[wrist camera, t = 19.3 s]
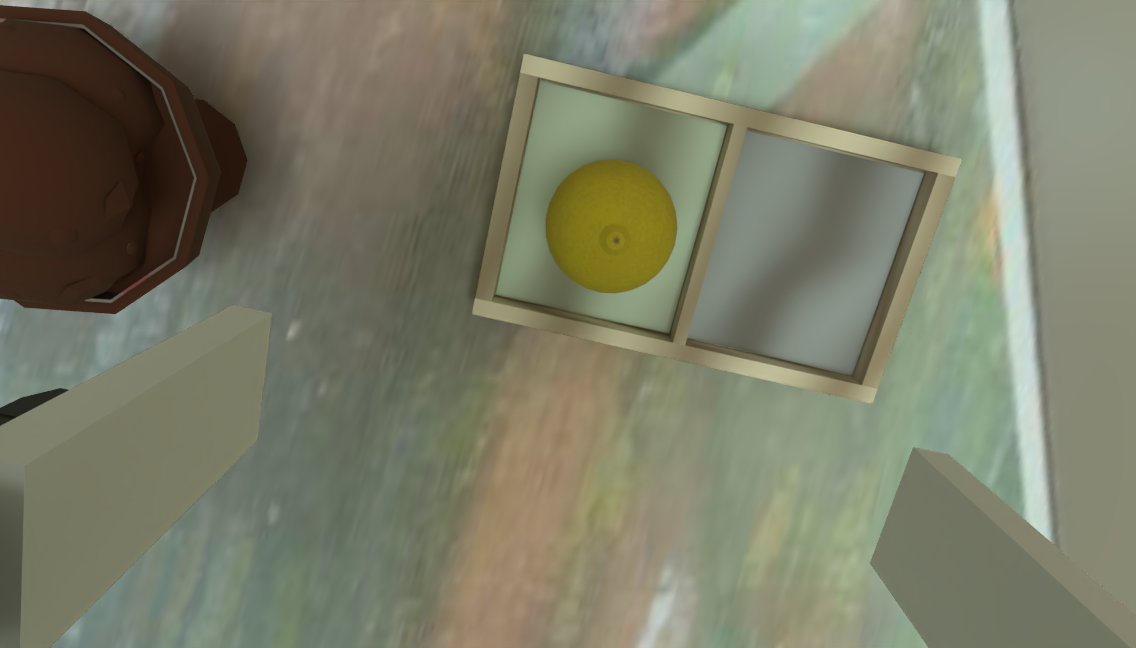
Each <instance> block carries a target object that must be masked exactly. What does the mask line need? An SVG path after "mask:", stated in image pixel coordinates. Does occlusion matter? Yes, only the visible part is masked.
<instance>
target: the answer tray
mask: <svg viewBox="0 0 1136 648" xmlns="http://www.w3.org/2000/svg"><path fill="white" fill-rule="evenodd" d="M611 159H617V160H622V161H627V162H632V163H634V164H636V165H638V166H640V167H642V168H645V169H647V170H648V171H649V172H651V173H652V174H653V175H654V176H655V177H656V178H658V179H659V180H660V181H661V183H662V184H663V186H664V187H665V189H666V190H667V191H668V193H669V194H670V196H671V199H672V202H673V205H674V207H675V210H676V218H677V235H676V241H675V246H674V248H673V251H672V253H671V255H670V258H669V260H668V262H667V263H666V264H665V266H664V267H663V268H662V270H661V271H660V272H659V273H658V274H657V275H656V276H655V277H654V278H652V279H651V280H650V281H649V282H647V283H646V284H644V285H642V286H640V287H638V288H635V289H633V290H631V291H626V292H621V293H615V294H614V293H599V292H596V291H593V290H590V289H587V288H584V287H582V286H581V285H579V284H577V283H576V282H574V281H573V280H571V279H570V278H569V277H568V276H567V275H566V274H565V273H564V272H563V271H562V270H561V269H560V268H559V267H558V265H557V263H556V262H555V260H554V258H553V256H552V255H551V253H550V250H549V246H548V242H547V239H546V214H547V210H548V206H549V202H550V201H551V199H552V197H553V195H554V193H555V191H556V189H557V187H558V186H559V185H560V184H561V183H562V182H563V181H564V180H565V179H566V177H567V176H568V175H569V174H571V173H572V172H574V171H576V170H577V169H579V168H580V167H582V166H584V165H587V164H590V163H593V162H596V161H598V160H611ZM961 160H962V159H958V158H954V157H950V156H946V155H942V154H938V153H934V152H929V151H925V150H921V149H917V148H913V147H909V146H905V145H900V144H896V143H892V142H888V141H884V140H880V139H876V138H871V137H867V136H863V135H859V134H855V133H851V132H847V131H842V130H838V129H834V128H830V127H826V126H822V125H818V124H813V123H809V122H805V121H801V120H797V119H793V118H789V117H784V116H780V115H776V114H772V113H768V112H764V111H760V110H755V109H751V108H747V107H743V106H739V105H735V104H731V103H726V102H722V101H718V100H714V99H710V98H706V97H702V96H697V95H693V94H689V93H685V92H681V91H677V90H673V89H668V88H664V87H660V86H656V85H652V84H648V83H644V82H640V81H635V80H631V79H627V78H623V77H619V76H615V75H611V74H606V73H602V72H598V71H594V70H590V69H586V68H582V67H577V66H573V65H569V64H565V63H561V62H557V61H553V60H548V59H544V58H540V57H536V56H532V55H528V54H524V56H523V61H522V66H521V71H520V76H519V81H518V86H517V91H516V96H515V101H514V106H513V111H512V116H511V121H510V126H509V131H508V136H507V141H506V146H505V151H504V156H503V161H502V166H501V171H500V176H499V181H498V186H497V191H496V196H495V201H494V206H493V211H492V216H491V221H490V226H489V231H488V236H487V241H486V246H485V251H484V256H483V261H482V266H481V271H480V276H479V281H478V286H477V291H476V296H475V301H474V306H473V311H472V314H474V315H478V316H483V317H487V318H492V319H496V320H501V321H505V322H509V323H514V324H518V325H523V326H527V327H532V328H536V329H541V330H545V331H550V332H554V333H559V334H563V335H567V336H572V337H576V338H581V339H585V340H590V341H594V342H599V343H603V344H608V345H612V346H617V347H621V348H625V349H630V350H634V351H639V352H643V353H648V354H652V355H657V356H661V357H666V358H670V359H675V360H679V361H683V362H688V363H692V364H697V365H701V366H706V367H710V368H715V369H719V370H724V371H728V372H732V373H737V374H741V375H746V376H750V377H755V378H759V379H764V380H768V381H773V382H777V383H782V384H786V385H790V386H795V387H799V388H804V389H808V390H813V391H817V392H822V393H826V394H831V395H835V396H840V397H844V398H848V399H853V400H857V401H862V402H866V403H871V404H872V403H873V400H874V397H875V395H876V392H877V389H878V386H879V384H880V381H881V378H882V376H883V373H884V370H885V367H886V365H887V362H888V359H889V356H890V354H891V351H892V348H893V346H894V343H895V340H896V337H897V335H898V332H899V329H900V326H901V324H902V321H903V318H904V316H905V313H906V310H907V307H908V305H909V302H910V299H911V297H912V294H913V291H914V288H915V286H916V283H917V280H918V277H919V275H920V272H921V269H922V267H923V264H924V261H925V258H926V256H927V253H928V250H929V248H930V245H931V242H932V239H933V237H934V234H935V231H936V228H937V226H938V223H939V220H940V218H941V215H942V212H943V209H944V207H945V204H946V201H947V198H948V196H949V193H950V190H951V188H952V185H953V182H954V179H955V177H956V174H957V171H958V169H959V166H960V163H961Z"/></svg>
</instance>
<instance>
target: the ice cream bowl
mask: <svg viewBox="0 0 1136 648" xmlns="http://www.w3.org/2000/svg"><path fill="white" fill-rule="evenodd" d="M246 163H247V158H246V155H245V153H244V150H243V147H242V144H241V141H240V139H239V136H238V133H237V130H236V127H235V125H234V124H233V123H232V122H231V121H229V120H228V119H227V118H226V117H224V116H223V115H222V114H221V113H219V112H218V111H217V110H216V109H214V108H213V107H212V106H211V105H209V104H208V103H207V102H205V101H204V100H194V97H193V95H192V93H191V92H190V90H189V88H188V87H187V86H186V85H185V84H183V83H182V82H181V81H180V80H178V79H177V78H176V77H175V76H173V75H172V74H171V73H170V72H168V71H167V70H166V69H165V68H163V67H162V66H161V65H160V64H158V63H157V62H156V61H154V60H153V59H152V58H151V57H149V56H148V55H147V54H146V53H144V52H143V51H142V50H141V49H139V48H138V47H137V46H136V45H134V44H133V43H132V42H131V41H129V40H128V39H127V38H126V37H124V36H123V35H122V34H120V33H119V32H118V31H117V30H115V29H114V28H113V27H112V26H110V25H109V24H107V23H105V22H103V21H101V20H100V19H98V18H96V17H94V16H93V15H91V14H89V13H87V12H85V11H71V10H57V9H43V8H30V7H16V6H2V5H0V299H9V300H14V301H16V302H17V303H19V304H20V305H22V306H23V307H24V308H39V309H53V310H67V311H81V312H95V313H109V314H116V313H118V312H119V311H121V310H122V309H124V308H125V307H127V306H128V305H130V304H131V303H133V302H134V301H136V300H137V299H139V298H140V297H142V296H143V295H144V294H146V293H147V292H149V291H150V290H152V289H153V288H155V287H156V286H158V285H159V284H161V283H162V282H164V281H165V280H167V279H168V278H170V277H171V276H173V275H174V274H176V273H177V272H178V271H180V270H181V269H183V268H184V267H186V266H187V265H188V264H189V263H190V262H192V261H193V260H194V259H195V258H196V257H197V256H198V255H199V253H200V250H201V246H202V242H203V238H204V235H205V231H206V227H207V224H208V220H209V216H210V212H212V211H214V210H215V209H217V208H218V207H219V206H221V205H222V204H224V203H225V202H227V201H228V200H230V199H231V198H233V197H234V196H235V195H237V194H238V192H239V188H240V185H241V181H242V178H243V174H244V170H245V167H246Z"/></svg>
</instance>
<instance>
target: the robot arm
mask: <svg viewBox="0 0 1136 648" xmlns="http://www.w3.org/2000/svg"><path fill="white" fill-rule="evenodd" d="M271 320H272V313H269V312H264V311H259V310H254V309H250V308H245V307H240V306H235V305H232V306H230V307H228V308H226V309H224V310H222V311H221V312H219V313H217V314H215V315H213V316H211V317H209V318H207V319H205V320H203V321H201V322H199V323H197V324H196V325H194V326H192V327H190V328H188V329H186V330H184V331H182V332H180V333H178V334H176V335H174V336H172V337H171V338H169V339H167V340H165V341H163V342H161V343H159V344H157V345H155V346H153V347H151V348H149V349H147V350H145V351H144V352H142V353H140V354H138V355H136V356H134V357H132V358H130V359H128V360H126V361H124V362H122V363H120V364H119V365H117V366H115V367H113V368H111V369H109V370H107V371H105V372H103V373H101V374H99V375H97V376H95V377H93V378H92V379H90V380H88V381H86V382H84V383H82V384H80V385H78V386H76V387H74V388H72V389H70V390H66V389H61V388H59V389H55V390H51V391H47V392H43V393H39V394H35V395H30V396H26V397H22V398H20V399H18V400H16V401H14V402H12V403H10V404H8V405H6V406H3V407H1V408H0V648H50V647H51V646H52V645H53V644H54V643H55V642H56V641H57V640H58V639H59V638H60V637H61V636H62V635H63V634H64V633H65V632H66V631H67V630H68V629H69V628H70V627H71V626H72V625H73V624H74V623H75V622H76V621H77V620H78V619H79V618H80V617H81V616H82V615H83V614H84V613H85V612H86V611H87V610H88V609H89V608H90V607H91V606H92V605H93V604H94V603H95V602H96V601H97V600H98V599H99V598H100V597H101V596H102V595H103V594H104V593H105V592H106V591H107V590H108V589H109V588H110V587H111V586H112V585H113V584H114V583H115V582H116V581H117V580H118V579H119V578H120V577H121V576H122V575H123V574H124V573H125V572H126V571H127V570H128V569H129V568H130V567H131V566H132V565H133V564H134V563H135V562H136V561H137V560H138V559H139V558H140V557H141V556H142V555H143V554H144V553H145V552H146V551H147V550H148V549H149V548H150V547H151V546H152V545H153V544H154V543H155V542H156V541H157V540H158V539H159V538H160V537H161V536H162V535H163V534H164V533H165V532H166V531H167V530H168V529H169V528H170V527H171V526H172V525H173V524H174V523H175V522H176V521H177V520H178V519H179V518H180V517H181V516H182V515H183V514H184V513H185V512H186V511H187V510H188V509H189V508H190V507H191V506H192V505H193V504H194V503H195V502H196V501H197V500H198V499H199V498H200V497H201V496H202V495H203V494H204V493H205V492H206V491H208V490H209V489H210V488H211V487H212V486H213V485H214V484H215V483H216V482H217V481H218V480H219V479H220V478H221V477H222V476H223V475H224V474H225V473H226V472H227V471H228V470H229V469H230V468H231V467H232V466H233V465H234V464H235V463H236V462H237V461H238V460H239V459H240V458H241V457H242V456H243V455H244V454H245V453H246V452H247V451H248V450H249V449H250V448H251V447H252V446H253V445H254V444H255V443H256V442H257V440H258V431H259V423H260V414H261V406H262V397H263V389H264V380H265V371H266V363H267V354H268V346H269V337H270V329H271ZM870 564H871V565H872V567H873V568H874V570H875V571H876V572H877V574H878V575H879V577H880V578H881V580H882V581H883V583H884V584H885V585H886V587H887V588H888V590H889V591H890V593H891V594H892V596H893V597H894V598H895V600H896V601H897V603H898V604H899V606H900V607H901V609H902V610H903V611H904V613H905V614H906V616H907V617H908V619H909V620H910V622H911V623H912V624H913V626H914V627H915V629H916V630H917V632H918V633H919V635H920V636H921V637H922V639H923V640H924V642H925V643H926V645H927V646H928V648H1136V615H1135V614H1134V613H1133V612H1132V611H1130V610H1129V609H1128V608H1127V607H1126V606H1125V605H1123V604H1122V603H1121V602H1120V601H1119V600H1117V599H1116V598H1115V597H1114V596H1113V595H1112V594H1110V592H1108V591H1107V590H1106V589H1105V588H1104V587H1103V586H1101V585H1100V584H1099V583H1098V582H1097V581H1095V580H1094V579H1093V578H1092V577H1091V576H1090V575H1089V574H1087V573H1086V572H1085V571H1084V570H1083V569H1081V568H1080V567H1079V566H1078V565H1077V564H1076V563H1075V562H1073V561H1072V560H1071V559H1070V558H1069V557H1068V556H1066V555H1065V554H1064V553H1063V552H1062V551H1061V550H1059V549H1058V548H1057V547H1056V546H1055V545H1054V544H1052V543H1051V542H1050V541H1049V540H1048V539H1047V538H1045V537H1044V536H1043V535H1042V534H1041V533H1040V532H1038V531H1037V530H1036V529H1035V528H1034V527H1033V526H1031V525H1030V524H1029V523H1028V522H1027V521H1026V520H1024V519H1023V518H1022V517H1021V516H1020V515H1019V514H1017V513H1016V512H1015V511H1014V510H1013V509H1012V508H1010V507H1009V506H1008V505H1007V504H1006V503H1005V502H1003V501H1002V500H1001V499H1000V498H999V497H998V496H996V495H995V494H994V493H993V492H992V491H991V490H989V489H988V488H987V487H986V486H985V485H984V484H982V483H981V482H980V481H979V480H978V479H977V478H975V477H974V476H973V475H972V474H971V473H970V472H968V471H967V470H966V469H965V468H964V467H963V466H961V465H960V464H959V463H958V462H957V461H956V460H954V459H953V458H952V457H951V456H950V455H948V454H943V453H939V452H934V451H929V450H924V449H920V448H915V447H913V449H912V452H911V454H910V457H909V460H908V463H907V465H906V468H905V471H904V473H903V476H902V479H901V481H900V484H899V487H898V489H897V492H896V495H895V498H894V500H893V503H892V506H891V508H890V511H889V514H888V516H887V519H886V522H885V524H884V527H883V530H882V532H881V535H880V538H879V541H878V543H877V546H876V549H875V551H874V554H873V557H872V559H871V562H870Z"/></svg>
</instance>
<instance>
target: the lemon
mask: <svg viewBox="0 0 1136 648" xmlns="http://www.w3.org/2000/svg"><path fill="white" fill-rule="evenodd" d="M676 235H677V218H676V210H675V207H674V205H673V202H672V199H671V196H670V194H669V193H668V191H667V190H666V189H665V187H664V186H663V184H662V183H661V181H660V180H659V179H658V178H656V177H655V176H654V175H653V174H652V173H651V172H649V171H648V170H647V169H645V168H642V167H640V166H638V165H636V164H634V163H632V162H627V161H622V160H617V159H611V160H598V161H596V162H593V163H590V164H587V165H584V166H582V167H580V168H579V169H577V170H576V171H574V172H572V173H571V174H569V175H568V176H567V177H566V179H565V180H564V181H563V182H562V183H561V184H560V185H559V186H558V187H557V189H556V191H555V193H554V195H553V197H552V199H551V201H550V202H549V206H548V210H547V214H546V239H547V242H548V246H549V250H550V253H551V255H552V256H553V258H554V260H555V262H556V263H557V265H558V267H559V268H560V269H561V270H562V271H563V272H564V273H565V274H566V275H567V276H568V277H569V278H570V279H571V280H573V281H574V282H576V283H577V284H579V285H581V286H582V287H584V288H587V289H590V290H593V291H596V292H599V293H614V294H615V293H621V292H626V291H631V290H633V289H635V288H638V287H640V286H642V285H644V284H646V283H647V282H649V281H650V280H651V279H652V278H654V277H655V276H656V275H657V274H658V273H659V272H660V271H661V270H662V268H663V267H664V266H665V264H666V263H667V262H668V260H669V258H670V255H671V253H672V251H673V248H674V246H675V241H676Z"/></svg>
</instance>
